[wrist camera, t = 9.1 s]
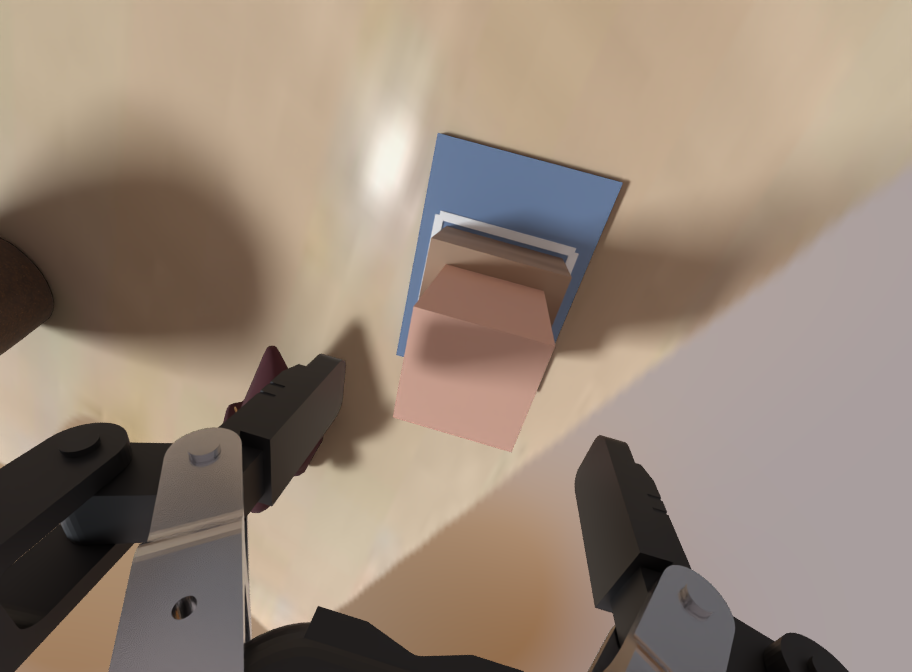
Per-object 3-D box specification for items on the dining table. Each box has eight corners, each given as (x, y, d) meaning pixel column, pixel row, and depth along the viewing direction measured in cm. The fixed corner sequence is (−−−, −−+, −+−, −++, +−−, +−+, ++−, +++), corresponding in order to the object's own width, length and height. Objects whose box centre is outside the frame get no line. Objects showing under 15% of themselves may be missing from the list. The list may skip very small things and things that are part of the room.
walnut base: (446, 225, 21) (430, 237, 17) (562, 258, 20) (571, 277, 17) (423, 330, 24) (406, 358, 20) (523, 359, 23) (524, 393, 20)
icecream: (171, 347, 20) (208, 497, 28) (268, 406, 18) (278, 549, 26) (272, 306, 26) (280, 441, 34) (354, 348, 24) (341, 480, 32)
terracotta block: (445, 264, 17) (413, 306, 12) (543, 291, 17) (555, 346, 12) (427, 349, 20) (392, 417, 14) (513, 374, 19) (511, 452, 14)
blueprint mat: (439, 133, 19) (437, 132, 18) (620, 182, 19) (623, 182, 18) (398, 352, 25) (396, 355, 25) (532, 392, 25) (533, 396, 24)
